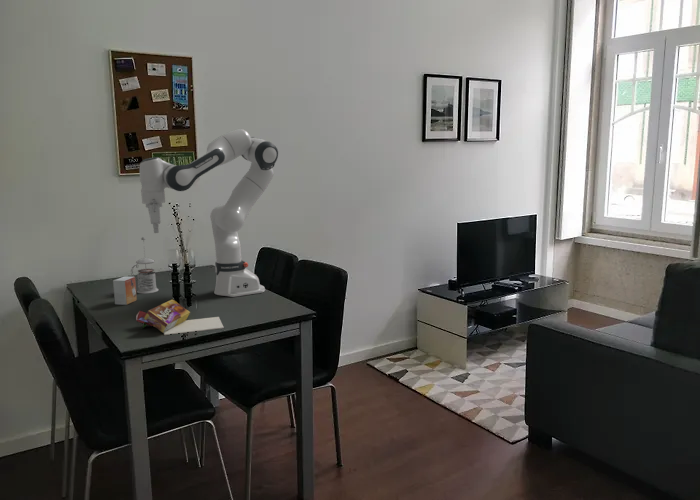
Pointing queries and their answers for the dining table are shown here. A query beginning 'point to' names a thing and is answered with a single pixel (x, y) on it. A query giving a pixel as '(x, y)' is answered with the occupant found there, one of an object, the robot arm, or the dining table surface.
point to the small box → (124, 290)
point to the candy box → (167, 315)
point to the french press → (145, 276)
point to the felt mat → (196, 325)
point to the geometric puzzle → (142, 318)
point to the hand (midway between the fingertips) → (156, 232)
